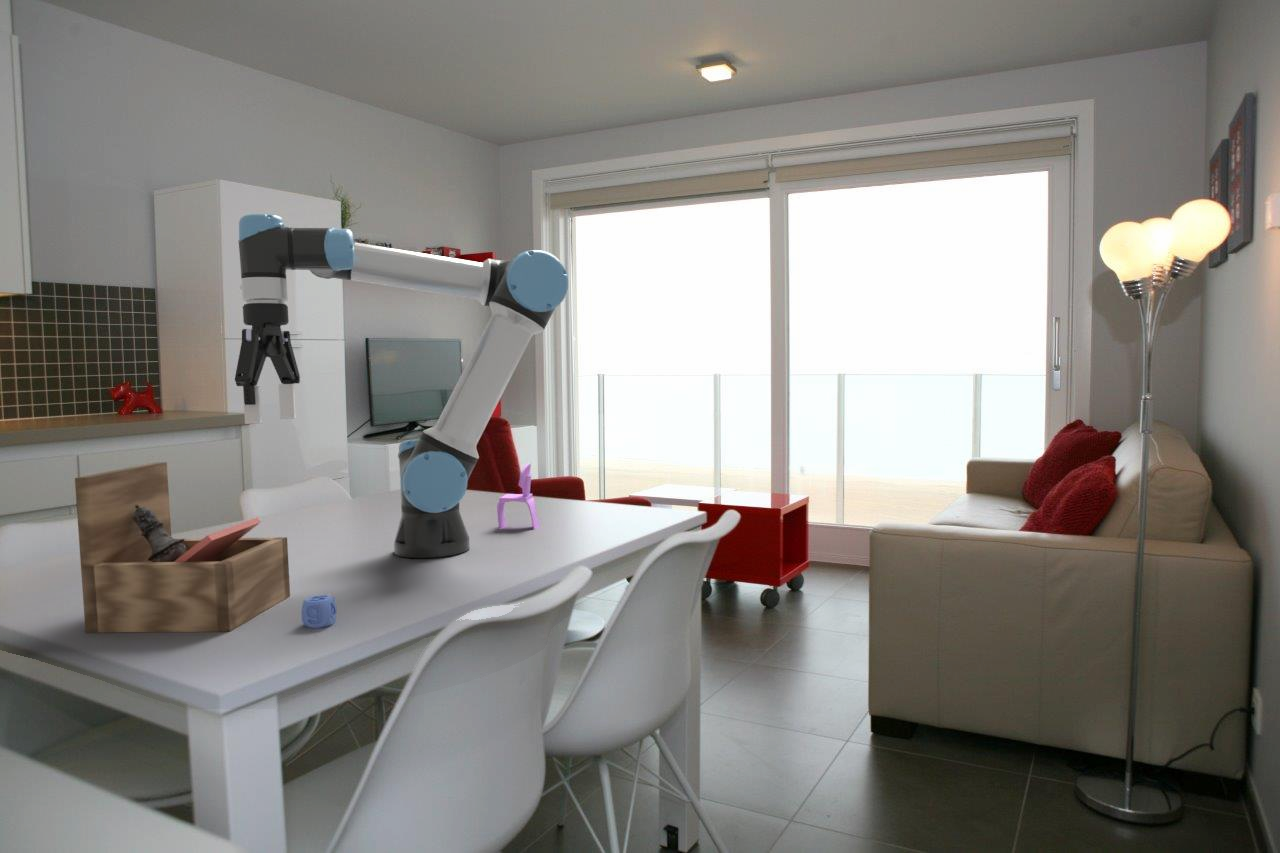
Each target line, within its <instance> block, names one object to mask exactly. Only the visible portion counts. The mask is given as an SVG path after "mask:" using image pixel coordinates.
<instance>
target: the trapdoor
mask: <svg viewBox="0 0 1280 853" xmlns="http://www.w3.org/2000/svg"><path fill="white" fill-rule="evenodd" d="M260 523H262V521H261V520H260V519H259V518H258V516H256V517H254V518H252V519H249V520H246V521H244V522H240V523H237V524H235V525H232V526H229V527H227V528H224V529H222V530H218V531H216V532H213V533H210V534H207V535H206V536H205V537H203V538H204V539H202V540H201V541H200V542H198V543H197V544H196V545H195V546H193V547H192V548H191V549H189V550H188V551H187V552H186V553H184V554H183V555H182V556H180V557H179V558H178V559H176V560H175V561H174V562H210V561H211V560H213V559H214V558H215V557H217V556H218V555H219V554H220V553H222V552H223V551H224V550H226V549H227V548H228V547H229V546H231V545H232V544H233V543H235V542H236V541H237V540H239V539H240V538H243V536H245V535H247V533H249V532H250V531H251V530H253V529H254V528H256V527H257V526H258V525H259V524H260Z"/></svg>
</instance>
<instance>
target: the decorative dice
mask: <svg viewBox="0 0 1280 853" xmlns="http://www.w3.org/2000/svg"><path fill="white" fill-rule="evenodd" d="M302 602H303V603H302V606H301V621H302V623H303V625H304V626H305V627H306V628H309V629H321V628H326V627H331V626H332V625H333V624H335V622H336V619H337V618H336V617H337V602H336V599H335V598H334V597H333V596H332V595H329V594H320V595H319V594H317V595H313V596H309V597H306V598H305V599H304V600H303V601H302Z"/></svg>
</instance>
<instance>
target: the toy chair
mask: <svg viewBox="0 0 1280 853" xmlns="http://www.w3.org/2000/svg"><path fill="white" fill-rule="evenodd" d="M531 466H532V463H530V462H527V463H526V464H525V465H524V466H523V467H522V469H521V471H520V473H519V474H520V475H519V481H518V486H519V487H520V488H521V489H522V493H520V494H519V493H517V494H516V493H505V494H504V495H503V496H500V497H499V498H498V503H497V507H496V509H497V510H496V512H497V522H498V530H500V531H501V530H503V529H504V528H505V527H507V526H508V523H507V520H506V517H505V511H504V510H505V504H506V503H510V502H521V503H525V504H527V507H528V510H529V513H530V518H531V522H532V523H531V524H532V529H533V530H536V529H537V528H538V527H539V526H541V522H540V520H539V518H538V514H537V510H536V501H535V499H534V497H533V493H531V482H532V474H531Z"/></svg>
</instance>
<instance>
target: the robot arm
mask: <svg viewBox="0 0 1280 853" xmlns="http://www.w3.org/2000/svg"><path fill="white" fill-rule="evenodd" d="M237 242H238V250H239V264H240V276H241V284H240V286H239V288H240V290H241V292H242V293H241V295H242V301H243V302H246V303H245V304H243V306H242V314H243V315H242V316H243V318H242V319H243V324H244V325H245V326H249V327H250V326H251V328H242V330H241V343H240V344H241V345H240V348H239V349H240V350H239V354H238V360H237V366H236V370H235V371H236V372H235V376H234V381H235V385H236V386H237V387H242V394H243V396H242V397H243V409H244V410H243V411H244V424H245V425H258V424H259V425H261V424H263V417H262V415H263V414H262V398H261V396H262V395H261V386H260V385H258V383H259V380H260V376H261V374H262V372H263V371H262V370H263V368H264V365H265V362H266V359H267V358H270V362H272V363H271V364H272V366H273V368H274V369H275V372H276V374H277V377H278V378H279V382H280V383H279V384H278V397H279V398H278V399H279V400H278V402H279V417H280V420H284V419H285V420H288V419H289V420H294V419H297V410H296V408H297V407H296V392H295V390H296V389H295V384H300V383H301V379H300V378H301V376H300V372H299V368H298V365H297V361H296V357H295V352H294V349H293V345H292V341H291V332H290V331H289V330H282V328H281V326H287V325H288V324H289V307H288V305H287V303H286V302H287V301H288V299H289V298H288V297H289V295H288V284H287V283H288V282H287V270H289V271H295V270H297V271H298V270H299V271H310V272H311V274H312V275H314V276H315V277H318V278H322V279H337V280H346V281H353V282H359V283H368V284H373V285H380V286H386V287H393V288H398V289H399V288H400V289H407V290H412V291H419V292H425V293H430V294H431V293H433V294H437V295H438V294H439V295H446V296H453V297H457V298H460V297H461V298H465V299H470V300H471V299H472V300H477V301H478V302H479V303H480V304H481V305H482V306H484V307H485V306H486V307H489V308H490V311H491V316H490V318H489V320H488V323H487V324H486V326H485V328H484V330H483V332H482V334H481V336H480V337H479V339H478V342H477V344H476V346H475V347H474V350H473V352H472V353H471V355H470V358H469V360H468V362H467V363H466V365H465V367H464V369H463V371H462V373H461V375H460V377H459V378H458V380H457V382H456V385H454V386H455V387H454V389H453V391H452V392H451V395H450V396H449V399H448V400H447V402H446V404H445V406H444V408H443V410H442V412H441V413H440V416H439V418H438V420H437V422H436V423H435V425H433V426H432V427H429V428H426V429H423V431H422V433H421V435H420V437H419V438H418V439H408V440H403V441H401V442H400V443H399V445H398V453H397V458H398V462H399V463H398V464H399V482H400V483H399V486H400V504H401V505H400V506H401V507H400V508H401V517H400V521H399V524H398V528H397V531H396V535H395V539H394V542H393V547H394V548H393V551H394V555H396V556H398V557H403V558H407V559H409V558H410V559H414V558H415V559H428V558H430V559H431V558H441V557H448V556H454V555H458V554H462V553H464V552H467V551H469V549H470V536H469V533H468V531H467V529H466V526H465V523H464V520H463V517H462V514H461V510H460V502H461V500H462V499H463V498H464V496H465V494H466V492H467V488H468V481H469V479H470V476H471V474H472V472H473V470H474V469H475V466H476V465H477V462H478V460H479V458H480V456H479V453H478V450H477V445H478V444H479V441H480V439H481V437H482V436H483V433H484V431H485V430H486V427H487V425H488V423H489V421H490V419H491V418H492V415H493V414H494V411H495V409H496V407H497V406H498V403H499V402H500V400H501V398H502V396H503V393H504V392H505V390H506V388H507V386H508V384H509V382H510V380H511V378H512V376H513V374H514V372H515V371H516V368H517V366H518V364H519V362H520V360H521V359H522V357H523V354H524V352H525V351H526V349H527V346H528V345H529V343H530V341H531V339H532V337H534V335H537V334H540V333H542V332H544V330H545V328H546V327H547V325H548V322H549V321H550V319H551V317H552V315H553V314H554V311H555V309H557V307H558V306H559V305H561V303H562V302H563V301H564V300H565V298H566V295H567V292H568V289H569V277H568V273H567V270H566V267H565V266H564V264H563V263H562V262H561V260H560V259H558V257H556V255H554V254H552V253H551V252H548V251H545V250H539V249H532V250H531V249H530V250H526V251H523V252H521V253H519V254H517V255H516V256H515V257H514V258H513V259H502V260H499V259H493V258H487V259H485V260H483V262H481V261H480V262H478V261H473V260H468V259H462V258H455V257H449V256H442V255H435V254H429V253H423V252H417V251H411V250H405V249H398V248H392V247H386V246H379V245H373V244H367V243H362V242H361V243H360V242H354V233H353V231H352V230H350V229H348V228H336V227H335V226H334V227H333V226H332V227H288V226H286V225H285V224H284V219H283V218H282V217H281V216H279V215H276V214H275V215H274V214H265V213H252V214H245V215H243V216H241V217H240V219H239V221H238V241H237ZM285 303H286V304H285Z"/></svg>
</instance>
